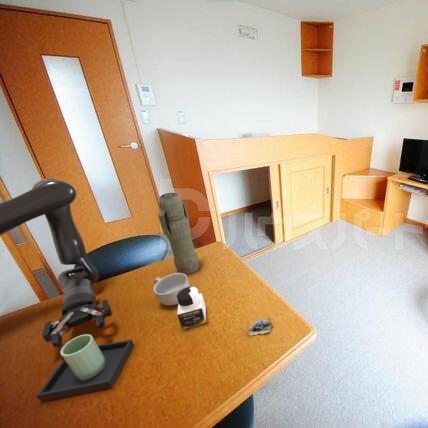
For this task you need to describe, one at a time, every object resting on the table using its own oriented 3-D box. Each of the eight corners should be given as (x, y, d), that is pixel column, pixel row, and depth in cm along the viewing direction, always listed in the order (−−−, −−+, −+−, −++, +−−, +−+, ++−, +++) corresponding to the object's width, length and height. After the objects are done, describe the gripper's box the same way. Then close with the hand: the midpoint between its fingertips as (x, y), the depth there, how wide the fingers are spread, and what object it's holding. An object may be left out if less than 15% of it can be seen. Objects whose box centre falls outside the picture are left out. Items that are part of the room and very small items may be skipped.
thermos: (170, 276, 100) (145, 200, 85) (187, 260, 111) (168, 189, 96) (189, 278, 99) (168, 201, 85) (205, 261, 110) (188, 190, 95)
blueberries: (275, 331, 77) (274, 327, 76) (250, 342, 74) (249, 338, 73) (268, 316, 83) (268, 312, 82) (245, 326, 79) (244, 321, 78)
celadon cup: (71, 382, 62) (53, 358, 58) (86, 360, 67) (71, 336, 63) (98, 377, 63) (83, 353, 59) (110, 356, 68) (97, 332, 64)
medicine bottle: (182, 330, 77) (172, 302, 72) (183, 313, 83) (175, 287, 78) (205, 322, 80) (198, 296, 75) (205, 307, 86) (199, 281, 81)
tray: (41, 401, 58) (35, 395, 57) (75, 355, 69) (71, 349, 68) (112, 387, 62) (108, 381, 60) (134, 345, 72) (131, 339, 71)
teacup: (197, 295, 91) (193, 279, 87) (168, 315, 83) (162, 297, 79) (177, 282, 98) (173, 266, 94) (149, 298, 89) (142, 281, 86)
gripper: (41, 305, 71) (35, 342, 60) (103, 283, 79) (107, 312, 69) (53, 322, 74) (49, 361, 63) (111, 300, 83) (116, 330, 72)
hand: (79, 335), depth 66 cm, fingers open, 8 cm apart
